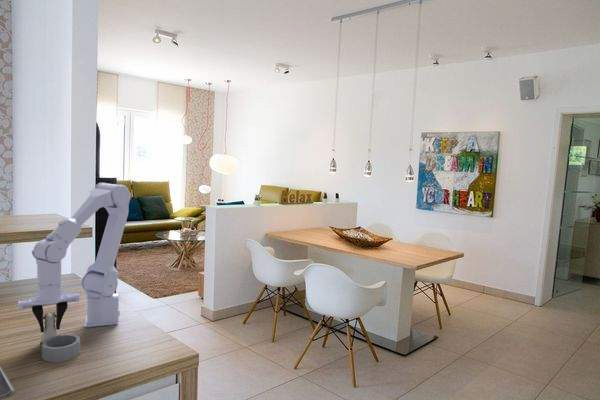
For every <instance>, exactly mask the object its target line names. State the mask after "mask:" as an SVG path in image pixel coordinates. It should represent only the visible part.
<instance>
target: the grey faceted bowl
mask: <svg viewBox="0 0 600 400" xmlns="http://www.w3.org/2000/svg"><path fill="white" fill-rule="evenodd" d="M80 352H81V336H79V335H77V334H72V333H65V334H59V335H57V336H53V337H50V338H48V339H47V340H45V341H43V343H42V344H41V358H42V360H44V361H45V362H50V363H51V362H53V363H55V362H64V361H68V360H70V359H74V358H75V357H77V356H78V355H80V354H81V353H80Z"/></svg>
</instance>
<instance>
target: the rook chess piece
mask: <svg viewBox="0 0 600 400" xmlns="http://www.w3.org/2000/svg"><path fill="white" fill-rule="evenodd" d="M56 317H57V316H56V312H54V311H50V312H46V313H44V315H43V325H44V332H42V334H41V337H40V338H41V339H40V342H41V343H42V344H43V341H45V340H47V339H48V338H50V337H53V336H57V335H60V334H59V332H58V331H57V329H56Z"/></svg>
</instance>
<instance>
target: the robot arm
mask: <svg viewBox="0 0 600 400" xmlns="http://www.w3.org/2000/svg"><path fill="white" fill-rule="evenodd" d="M89 192H90V193H89V196H88V197H87V198H86V200H85V201H84V202H83V203H82V205H81V206H80V207H79V208H78V209H77V211H76V212H74V214H73V215H72V217H70V218H65V219H63V220H60V221H58V224H57V226H56V227H55V228H54V230H52V231H51V232H50V233H49V234H47V235H46V238H44V239H42V240H39V241H37V242H36V243H35V245H34V247H33V250H31V254H32V257H33V258H34V259H35V261H36V262H35V263H36V272H37V273H36V274H37V275H36V277H37V296H35V297H31V298H28V299H27V298H26V299H23V300H17V301H18V302H17V303H18V304H17V305H18V311H21V310H24V309H30V308H31V310H32V314H33V315H34V317H35V318H36V320H37V322H38V326H39V328H40V333H43V332H44V329H45V324H44V318H43V317H44V309H43V308H44V306H51V305H55V306H56V307H55V309H56V310H55V311H56V312H55V315H56V316H57V317H56V318H55V321H56V322H55V328H56V331H57V330H60V327H61V323H62V319H63V317H64V315H65V313H66V311H67V309H68V303H72V302H74V303H79V302H80V294H79V292H78V293H62V260H63V259H64V258H65V257H66V256H67V251H68V249H69V246H70V245H71V244H72V243H73V242H74V240H75V239H76V238H77V237H78V236H79V235H80V234H81V233H82V225H84V224H85V223H86V222H87V221H88V220H89V219H90V218H91V217H92V216H93V215H94V214H95V213H96V212H98V211H99V209H101V208H104V209H105V210H106V212H107V214H108V217H107V221H106V225H105V228H104V230H103V231H104V232H103V235H102V238H101V242H100V245H99V249H98V252H97V256H96V258H95V262H93V263H92V264H90V265H89V266H88V267H87V269H86V273H84V275H83V277H82V278H81V282H80V283H81V285H80V286H81V287H82V289H83V290H84V291H85V294H86V316H85V317H86V318H85V320H84V321H85V322H84V325H83V326H84V328H90V327H91V328H92V327H101V326H111V325H118V324H119V316H120V313H121V312H120V311H121V310H120V309H119V302H120V301H119V300H120V299H119V297H120V295H119V293H118V292H116V290H117V289H118V285H119V284H118V283H119V282H118V276H119V271H118V270H117V268H116V267H115V262H116V259H117V256H118V253H119V248H120V245H121V242H122V237H123V234H124V231H125V227H126V224H127V219H128V216H129V212H130V211H129V207H130V206H129V204H130V201H131V198H132V194H131V192H130V190H129V188H128V187H127V186H126V185H125V184H115V183H107V182H98V183H97V184H95V186H94V188H92V189H91V190H89Z"/></svg>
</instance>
